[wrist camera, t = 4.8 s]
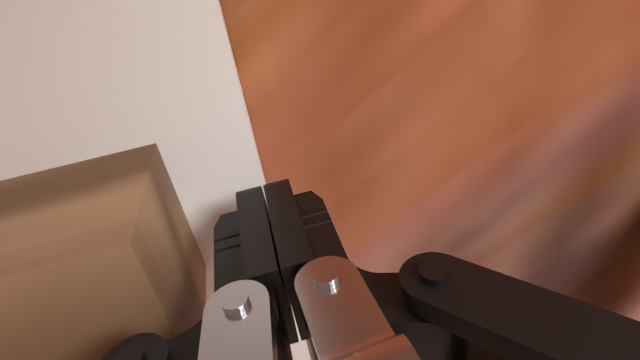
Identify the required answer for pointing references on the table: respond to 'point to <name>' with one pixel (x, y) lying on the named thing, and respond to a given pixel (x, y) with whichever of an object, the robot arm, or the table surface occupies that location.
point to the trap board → (130, 99)
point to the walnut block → (95, 258)
